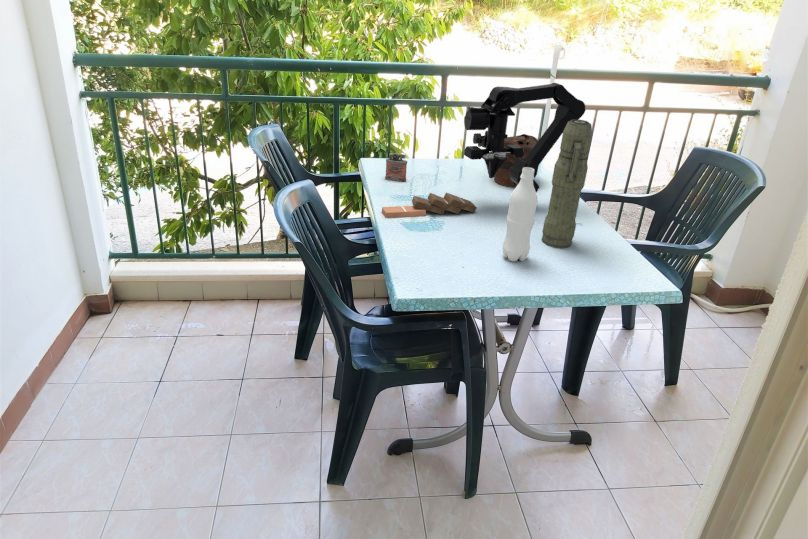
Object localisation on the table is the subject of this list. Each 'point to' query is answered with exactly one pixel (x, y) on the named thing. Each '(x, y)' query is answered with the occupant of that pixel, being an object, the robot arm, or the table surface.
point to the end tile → (402, 211)
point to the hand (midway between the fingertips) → (490, 177)
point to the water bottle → (520, 217)
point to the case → (504, 170)
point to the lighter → (396, 168)
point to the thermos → (567, 184)
